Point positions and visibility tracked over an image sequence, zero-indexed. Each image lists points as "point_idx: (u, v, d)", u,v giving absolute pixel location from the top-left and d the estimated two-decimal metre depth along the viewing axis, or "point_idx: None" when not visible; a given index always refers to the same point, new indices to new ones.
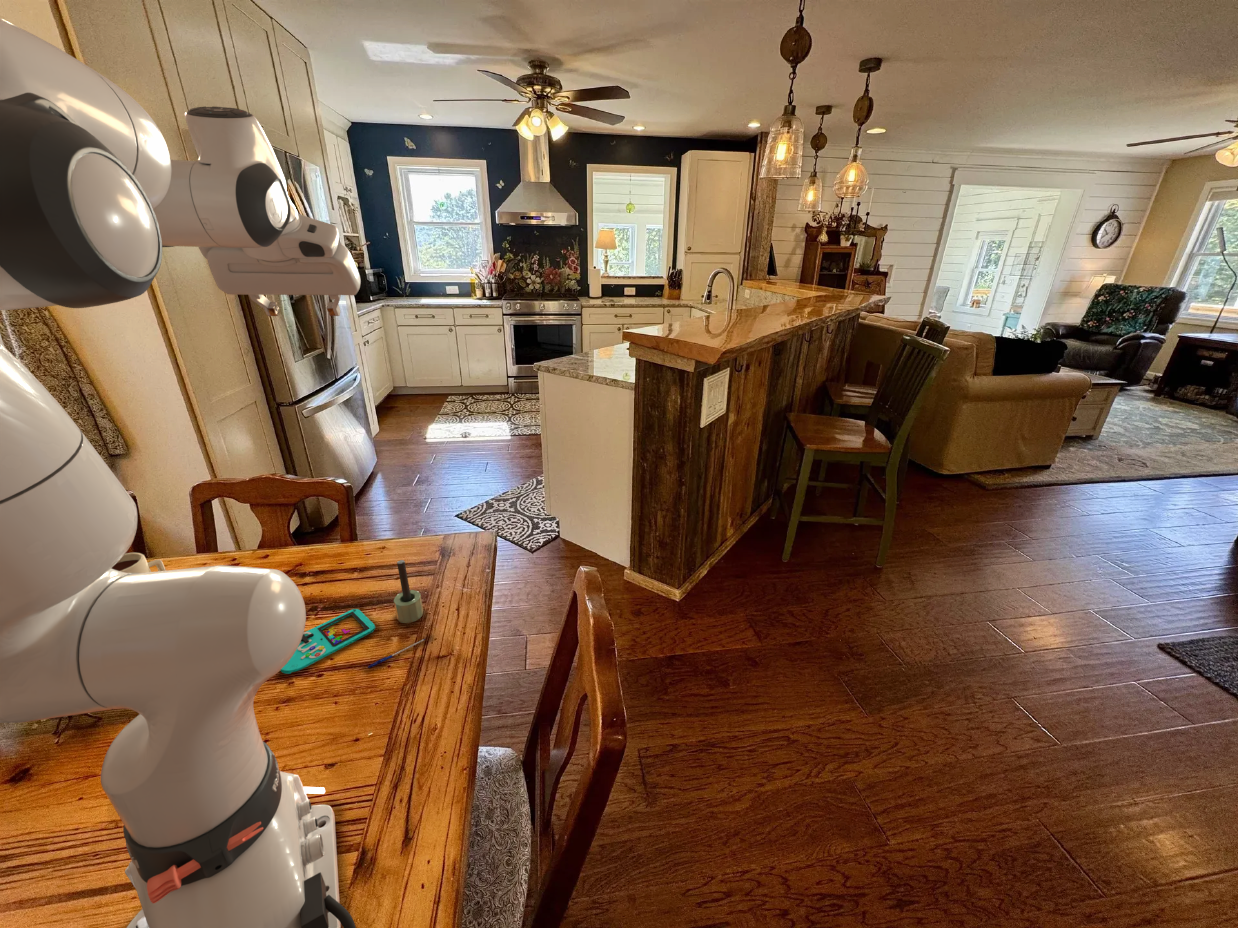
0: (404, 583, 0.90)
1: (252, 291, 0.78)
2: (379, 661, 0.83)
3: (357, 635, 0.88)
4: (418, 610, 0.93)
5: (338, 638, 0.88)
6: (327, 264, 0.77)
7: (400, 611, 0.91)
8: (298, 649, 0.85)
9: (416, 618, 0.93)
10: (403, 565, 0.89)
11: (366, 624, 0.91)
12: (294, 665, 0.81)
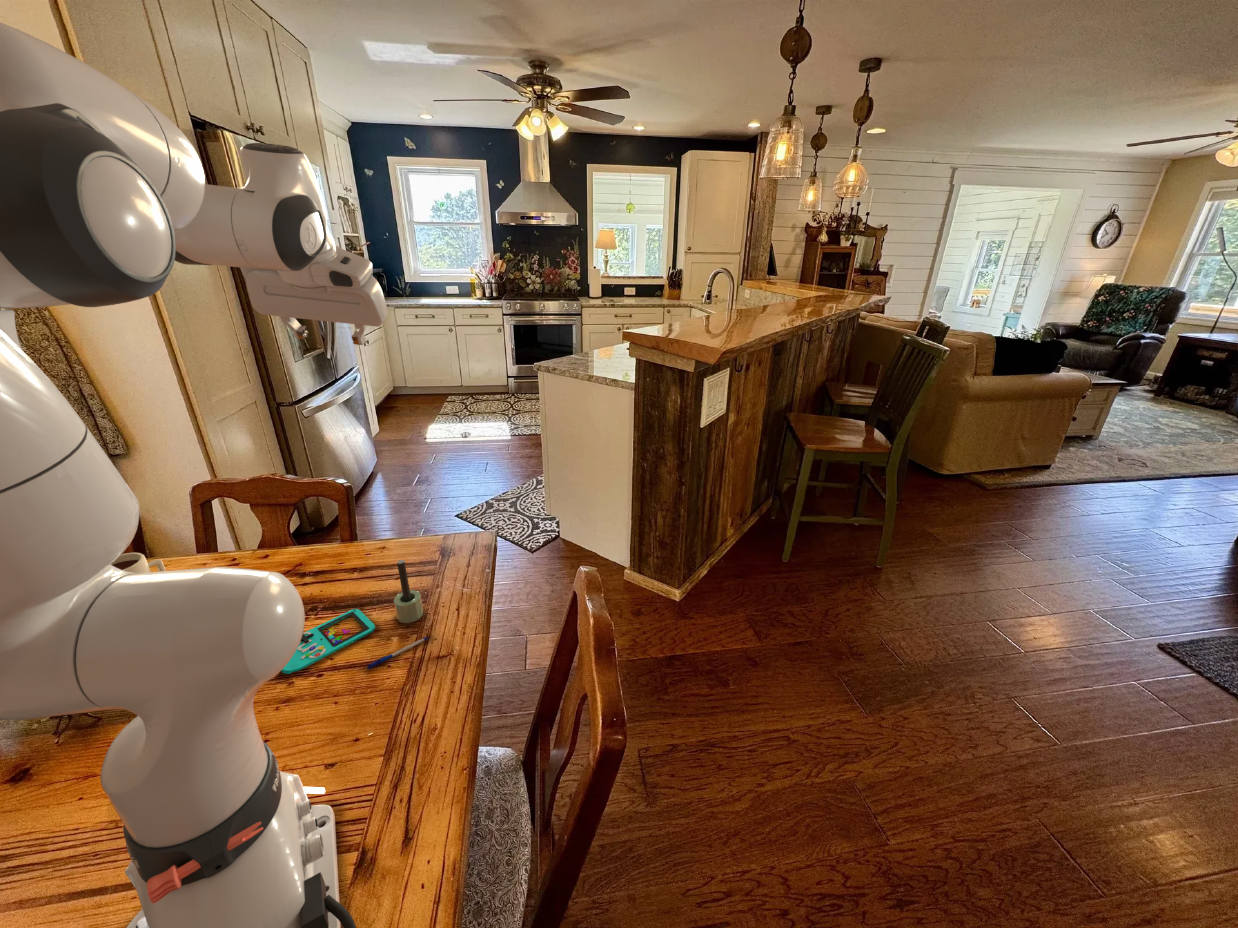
0: (404, 583, 0.90)
1: (283, 313, 0.81)
2: (379, 660, 0.83)
3: (357, 635, 0.88)
4: (418, 610, 0.93)
5: (338, 638, 0.88)
6: (355, 294, 0.79)
7: (400, 611, 0.91)
8: (298, 649, 0.85)
9: (416, 618, 0.93)
10: (403, 565, 0.89)
11: (366, 624, 0.91)
12: (294, 665, 0.81)
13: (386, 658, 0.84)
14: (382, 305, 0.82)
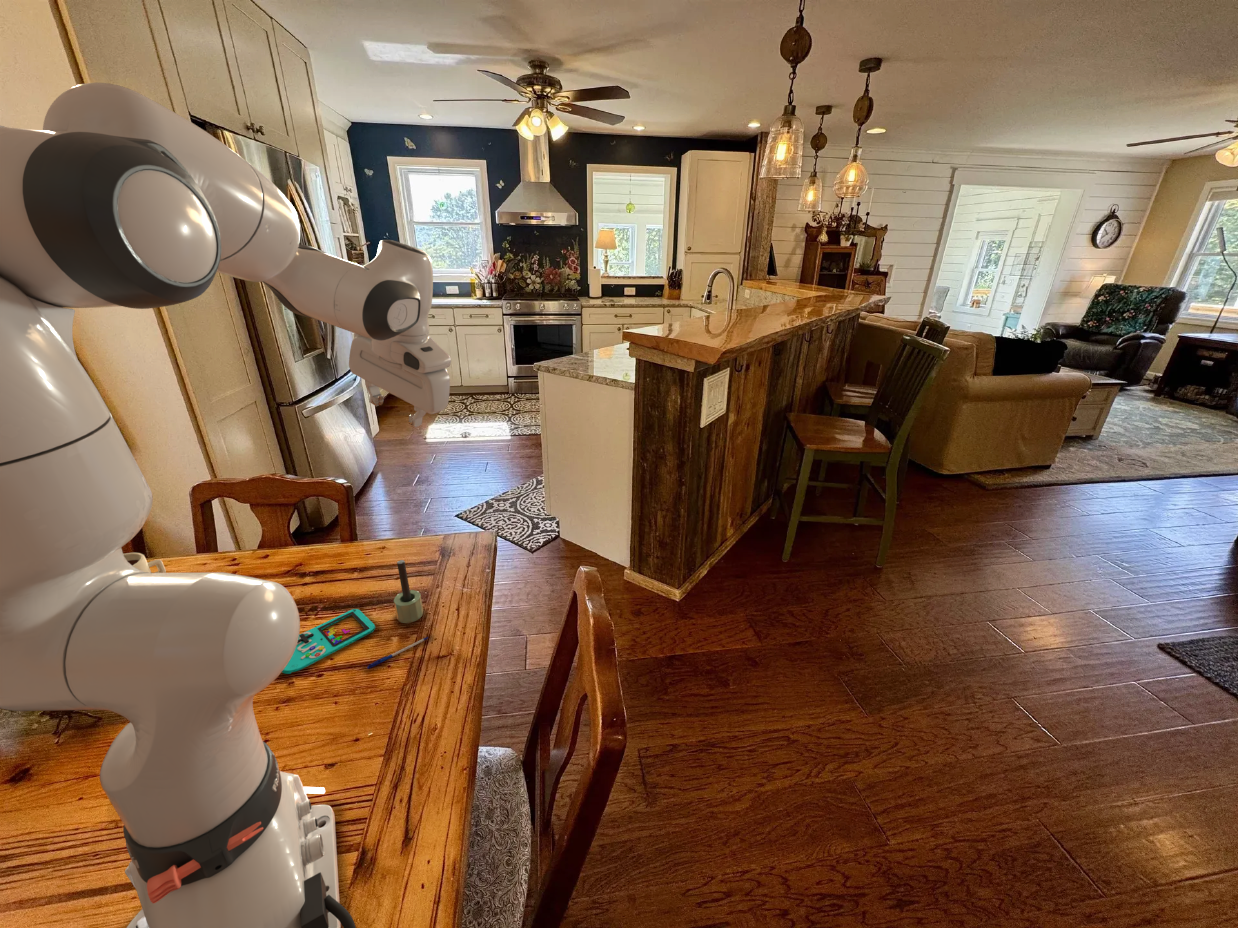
0: (404, 583, 0.90)
1: (366, 377, 0.88)
2: (379, 660, 0.83)
3: (357, 635, 0.88)
4: (418, 610, 0.93)
5: (338, 638, 0.88)
6: (420, 379, 0.82)
7: (400, 611, 0.91)
8: (298, 649, 0.85)
9: (416, 618, 0.93)
10: (403, 565, 0.89)
11: (366, 624, 0.91)
12: (294, 665, 0.81)
13: (386, 658, 0.84)
14: (442, 397, 0.84)
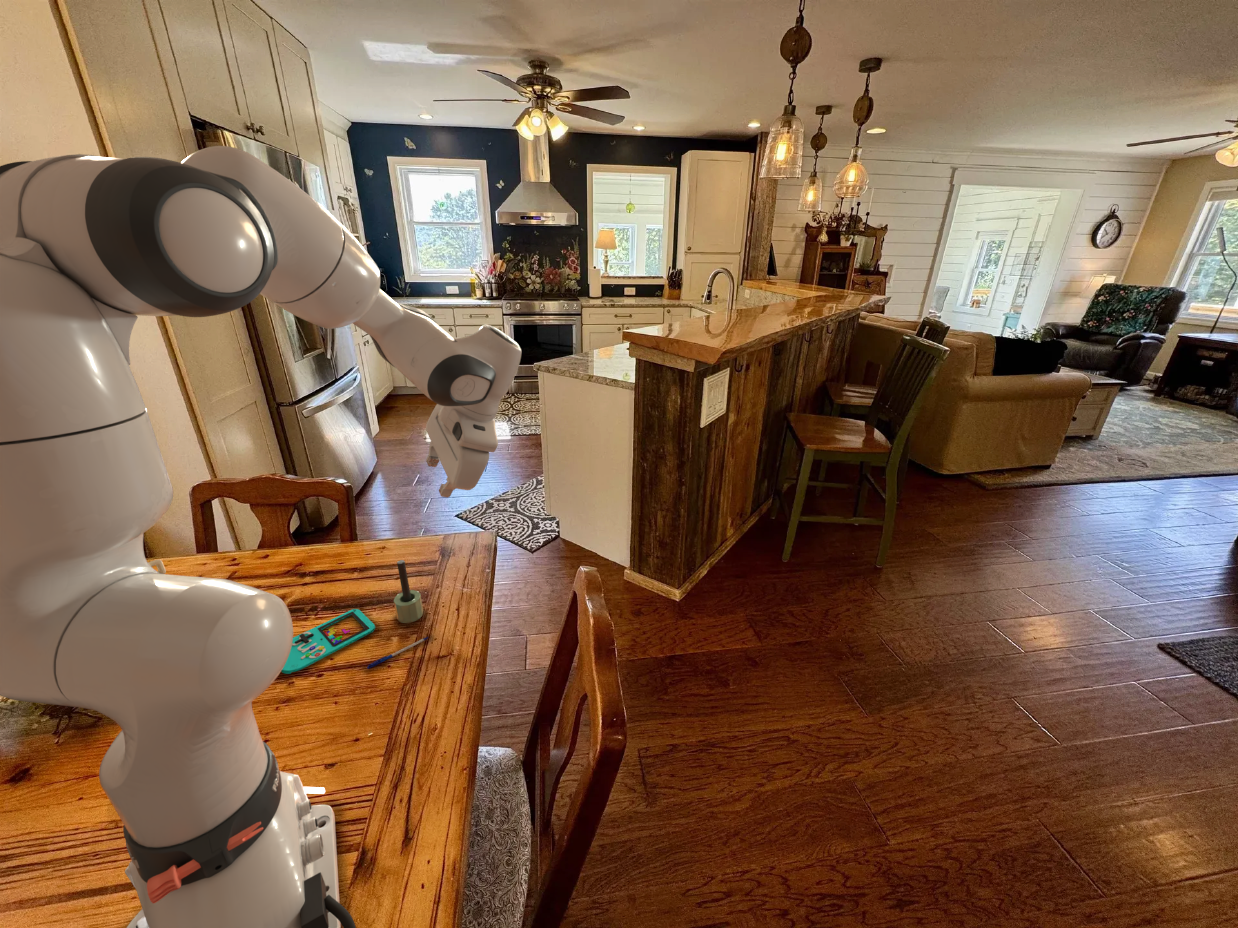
0: (404, 583, 0.90)
1: (431, 437, 0.91)
2: (379, 660, 0.83)
3: (357, 635, 0.88)
4: (418, 610, 0.93)
5: (338, 638, 0.88)
6: None
7: (400, 611, 0.91)
8: (298, 649, 0.85)
9: (416, 618, 0.93)
10: (403, 565, 0.89)
11: (366, 624, 0.91)
12: (294, 665, 0.81)
13: (386, 658, 0.84)
14: (470, 476, 0.81)
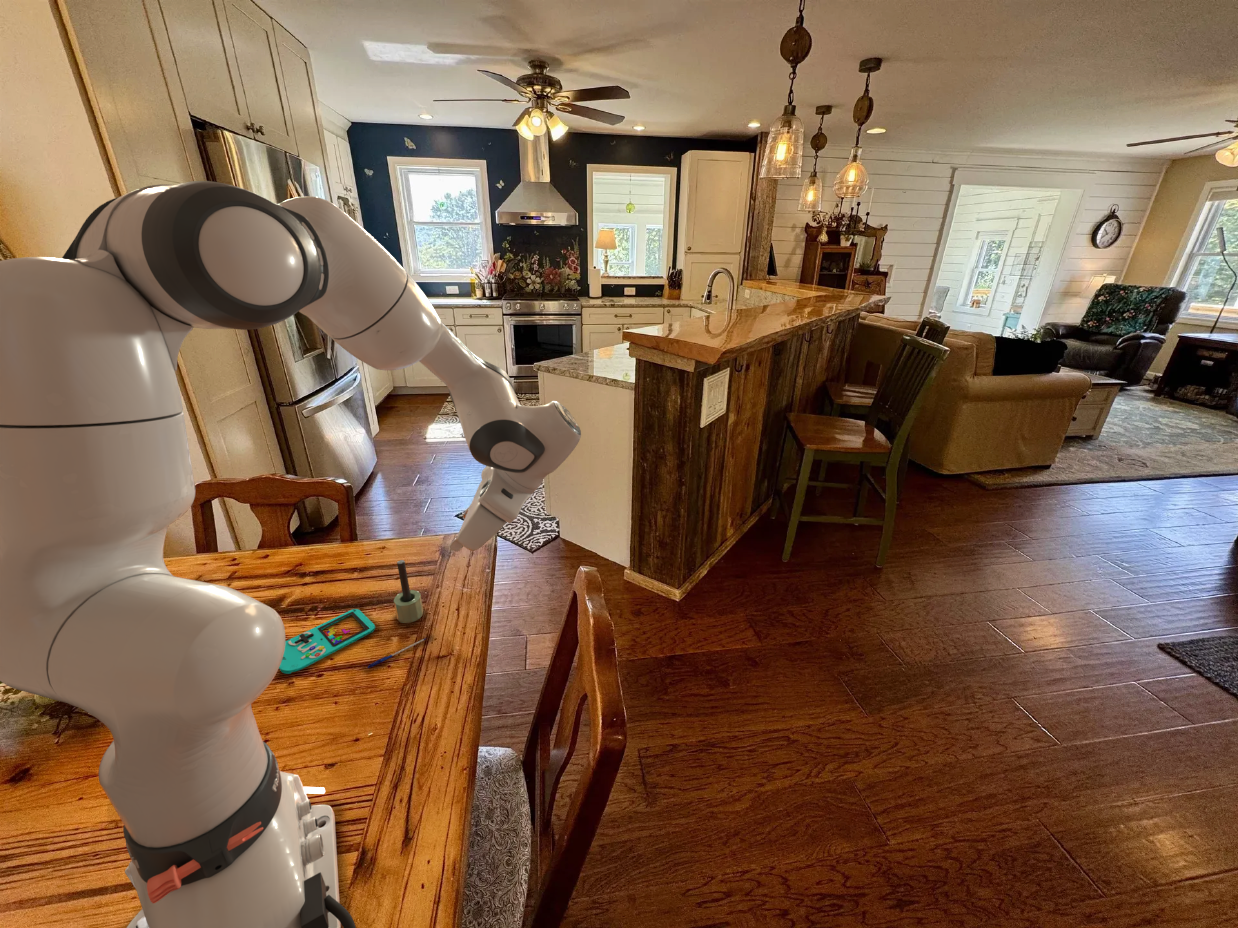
0: (404, 583, 0.90)
1: (477, 491, 0.90)
2: (379, 661, 0.83)
3: (357, 635, 0.88)
4: (418, 610, 0.93)
5: (338, 638, 0.88)
6: None
7: (400, 611, 0.91)
8: (298, 649, 0.85)
9: (416, 618, 0.93)
10: (403, 565, 0.89)
11: (366, 624, 0.91)
12: (294, 665, 0.81)
13: (386, 659, 0.84)
14: (475, 537, 0.77)
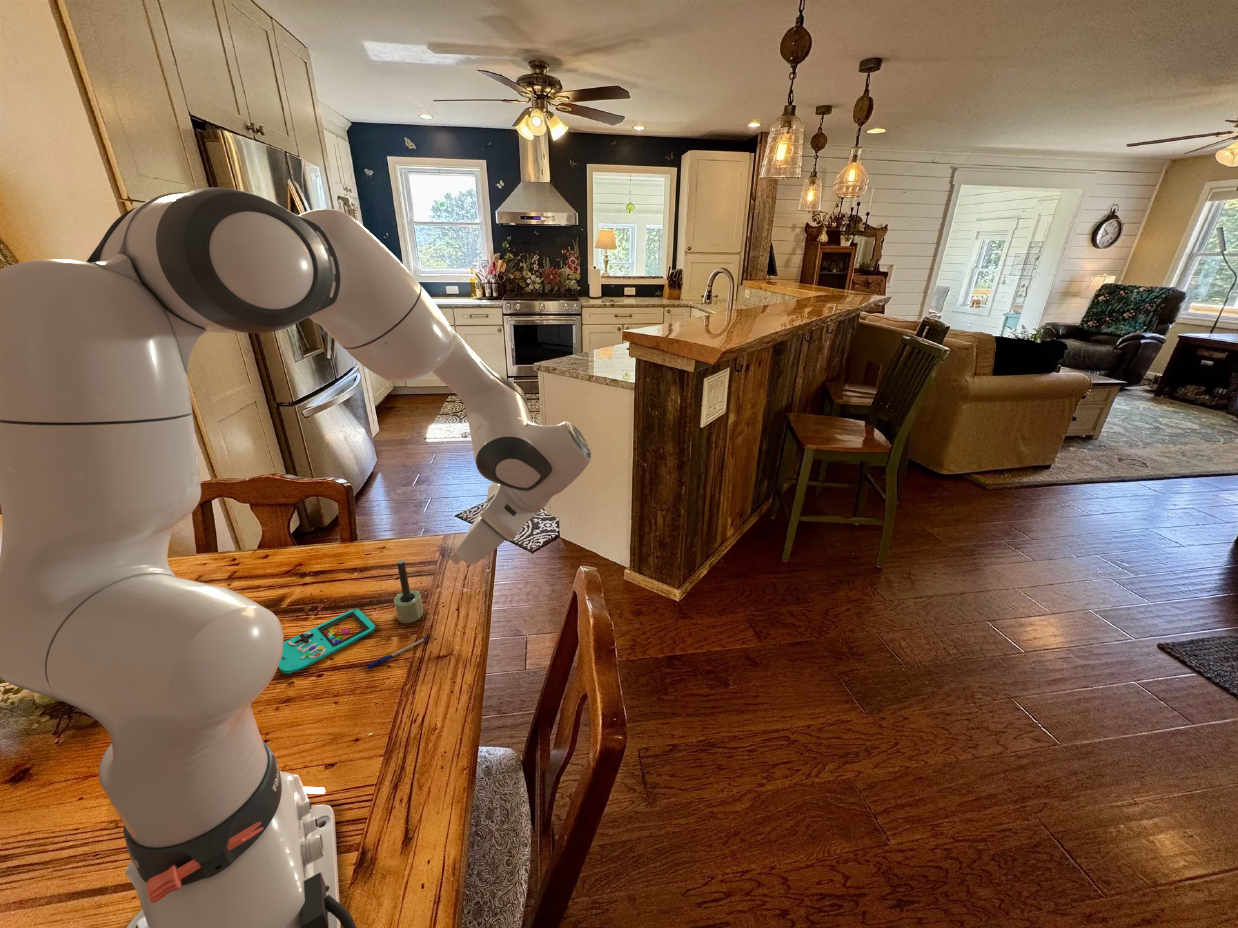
0: (404, 583, 0.90)
1: None
2: (379, 660, 0.83)
3: (357, 635, 0.88)
4: (418, 610, 0.93)
5: (338, 638, 0.88)
6: None
7: (400, 611, 0.91)
8: (298, 649, 0.85)
9: (416, 618, 0.93)
10: (403, 565, 0.89)
11: (366, 624, 0.91)
12: (294, 665, 0.81)
13: (386, 658, 0.84)
14: (474, 551, 0.76)
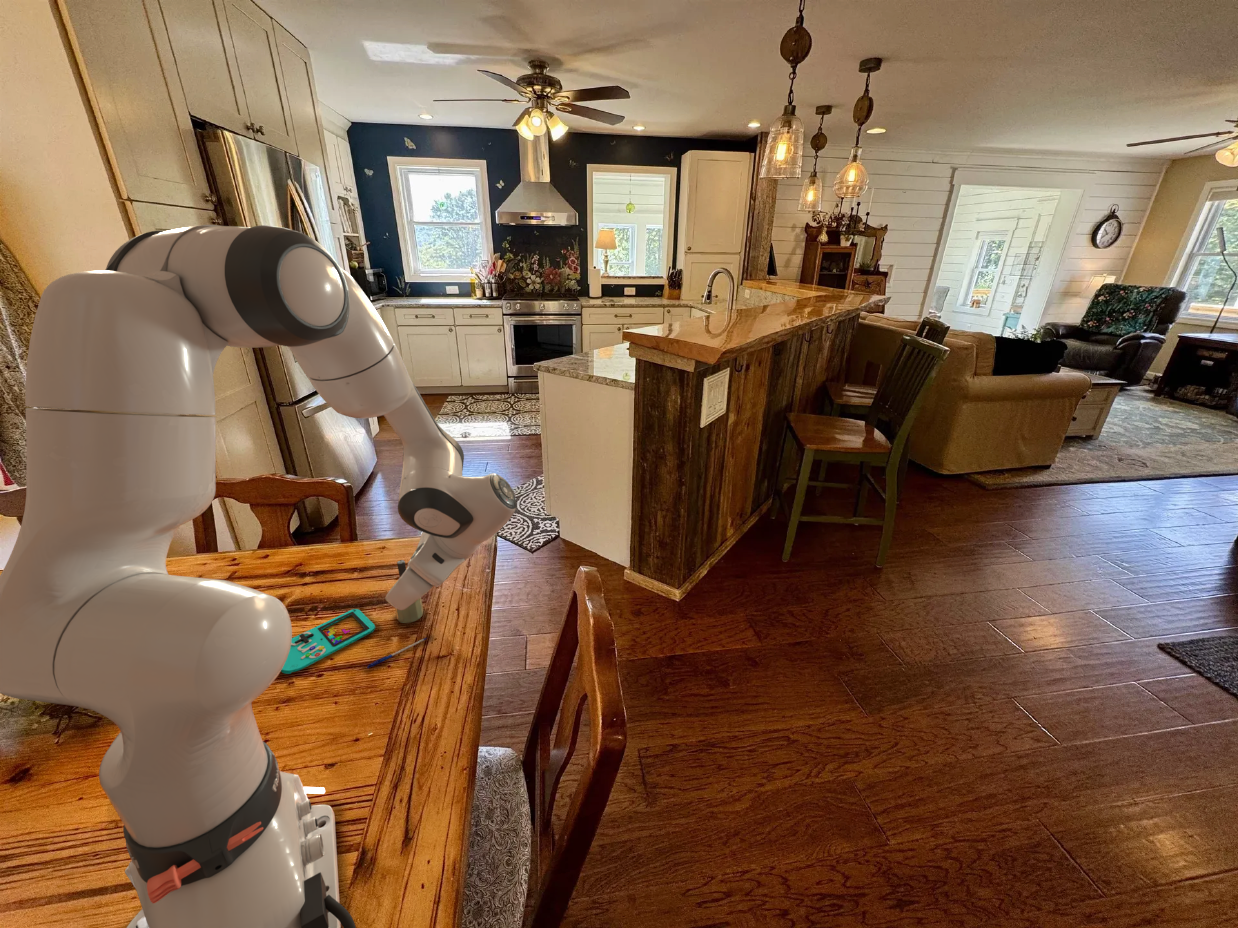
0: None
1: None
2: (379, 660, 0.83)
3: (357, 635, 0.88)
4: (418, 610, 0.93)
5: (338, 638, 0.88)
6: None
7: (400, 611, 0.91)
8: (298, 649, 0.85)
9: (416, 618, 0.93)
10: (403, 565, 0.89)
11: (366, 624, 0.91)
12: (294, 665, 0.81)
13: (386, 658, 0.84)
14: (402, 598, 0.80)
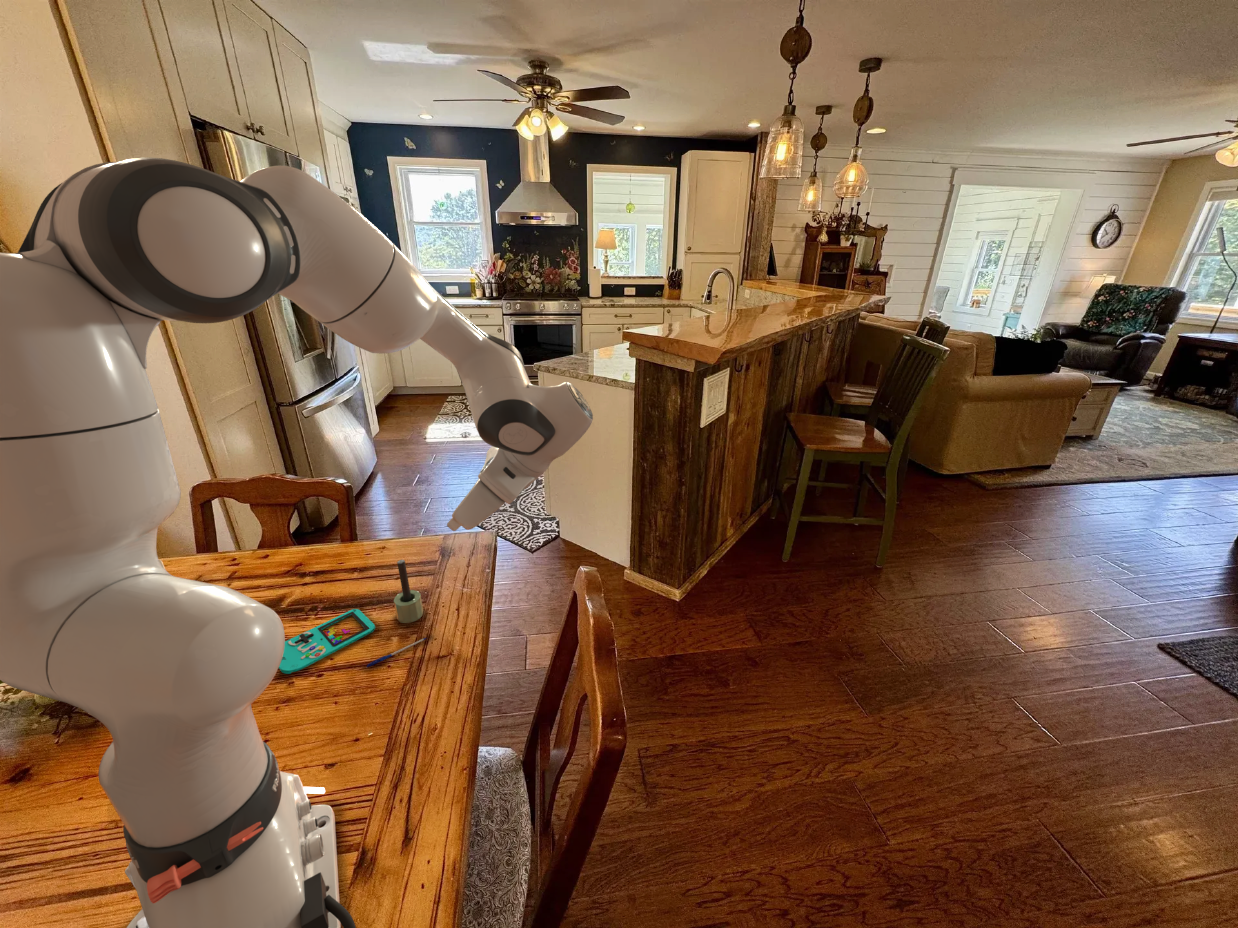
0: (404, 582, 0.91)
1: None
2: (378, 660, 0.83)
3: (357, 635, 0.88)
4: (418, 610, 0.93)
5: (338, 638, 0.88)
6: None
7: (400, 611, 0.91)
8: (298, 649, 0.85)
9: (416, 618, 0.93)
10: (403, 565, 0.89)
11: (366, 624, 0.91)
12: (294, 665, 0.81)
13: (385, 658, 0.84)
14: (471, 514, 0.73)
